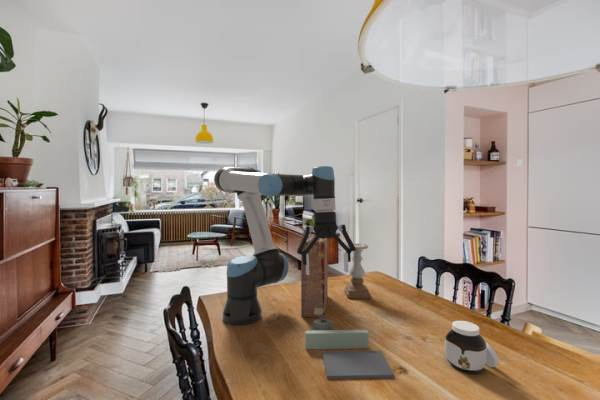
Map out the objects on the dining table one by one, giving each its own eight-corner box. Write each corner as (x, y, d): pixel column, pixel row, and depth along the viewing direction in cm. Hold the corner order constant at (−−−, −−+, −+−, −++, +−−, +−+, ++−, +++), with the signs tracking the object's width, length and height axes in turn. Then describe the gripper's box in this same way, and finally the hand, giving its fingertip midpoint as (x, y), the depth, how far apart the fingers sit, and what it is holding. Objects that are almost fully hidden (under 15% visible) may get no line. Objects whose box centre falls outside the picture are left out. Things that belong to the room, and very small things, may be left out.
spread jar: (440, 362, 87) (441, 323, 86) (458, 350, 94) (459, 313, 93) (486, 383, 77) (487, 339, 77) (502, 367, 84) (503, 327, 84)
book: (308, 294, 143) (308, 232, 143) (327, 295, 142) (327, 233, 141) (301, 317, 118) (301, 241, 117) (324, 318, 117) (324, 242, 116)
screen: (305, 349, 94) (305, 333, 94) (305, 345, 96) (305, 330, 96) (368, 348, 95) (368, 332, 94) (367, 344, 97) (367, 329, 96)
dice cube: (332, 335, 103) (332, 321, 103) (324, 340, 100) (324, 326, 99) (321, 331, 107) (321, 317, 106) (312, 336, 103) (312, 321, 103)
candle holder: (371, 298, 138) (371, 247, 138) (347, 298, 138) (347, 247, 138) (366, 290, 149) (366, 243, 148) (344, 290, 149) (344, 243, 149)
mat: (327, 378, 79) (327, 375, 79) (322, 354, 91) (322, 351, 91) (394, 377, 80) (394, 374, 80) (380, 353, 92) (380, 350, 92)
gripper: (289, 213, 98) (292, 278, 97) (363, 210, 101) (365, 272, 101) (287, 212, 105) (290, 272, 105) (356, 209, 108) (358, 268, 108)
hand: (327, 273), depth 103 cm, fingers open, 13 cm apart
